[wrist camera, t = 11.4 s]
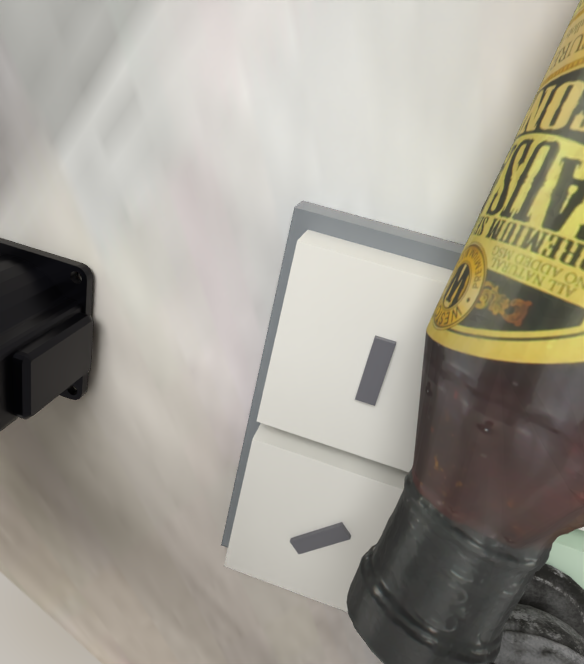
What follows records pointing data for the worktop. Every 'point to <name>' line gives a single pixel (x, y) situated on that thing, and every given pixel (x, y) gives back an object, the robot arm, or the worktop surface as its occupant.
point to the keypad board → (334, 400)
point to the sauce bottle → (494, 405)
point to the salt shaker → (546, 622)
